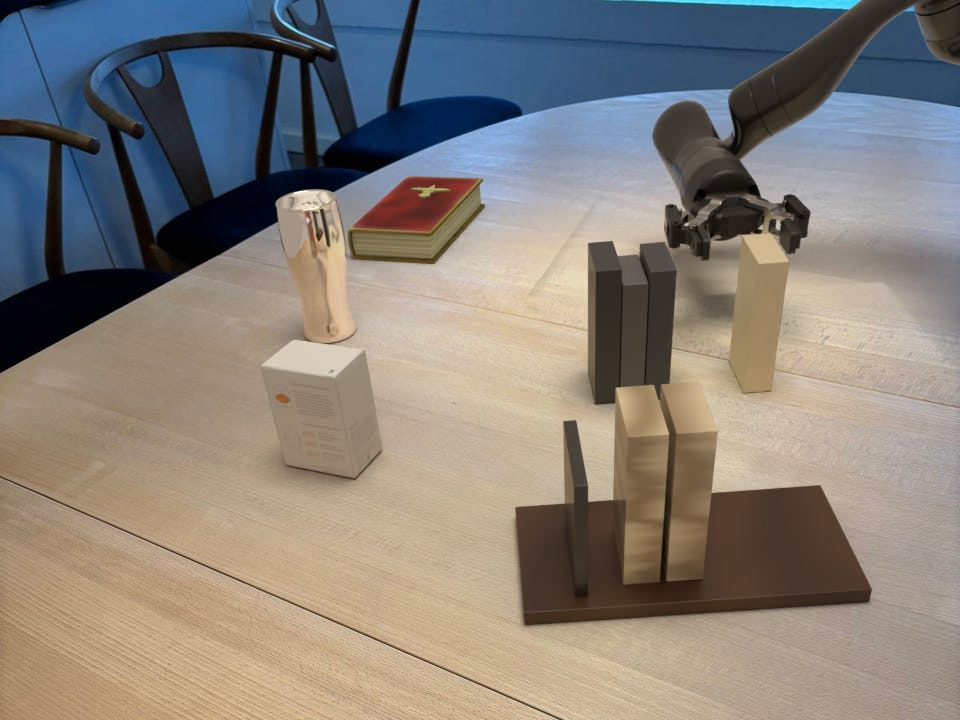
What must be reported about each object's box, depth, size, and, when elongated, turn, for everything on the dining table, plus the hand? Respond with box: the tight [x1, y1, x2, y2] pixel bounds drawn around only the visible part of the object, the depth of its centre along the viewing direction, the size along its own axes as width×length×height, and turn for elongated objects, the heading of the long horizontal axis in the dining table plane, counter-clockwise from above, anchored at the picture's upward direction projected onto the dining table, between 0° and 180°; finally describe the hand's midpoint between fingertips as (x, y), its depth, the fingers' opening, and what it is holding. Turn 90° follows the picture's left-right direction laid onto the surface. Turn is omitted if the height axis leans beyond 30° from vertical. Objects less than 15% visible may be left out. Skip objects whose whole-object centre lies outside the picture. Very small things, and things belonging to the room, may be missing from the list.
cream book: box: [728, 233, 790, 394], centre depth 96 cm, size 3×7×13 cm, turn 1°
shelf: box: [514, 381, 873, 625], centre depth 74 cm, size 26×14×14 cm, turn 91°
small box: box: [260, 339, 383, 479], centre depth 91 cm, size 8×6×10 cm
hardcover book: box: [347, 175, 486, 264], centre depth 135 cm, size 12×21×4 cm, turn 161°
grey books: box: [587, 240, 678, 405], centre depth 96 cm, size 7×7×14 cm
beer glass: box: [275, 188, 357, 344], centre depth 110 cm, size 7×7×15 cm
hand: (749, 247), depth 97 cm, fingers open, 8 cm apart
